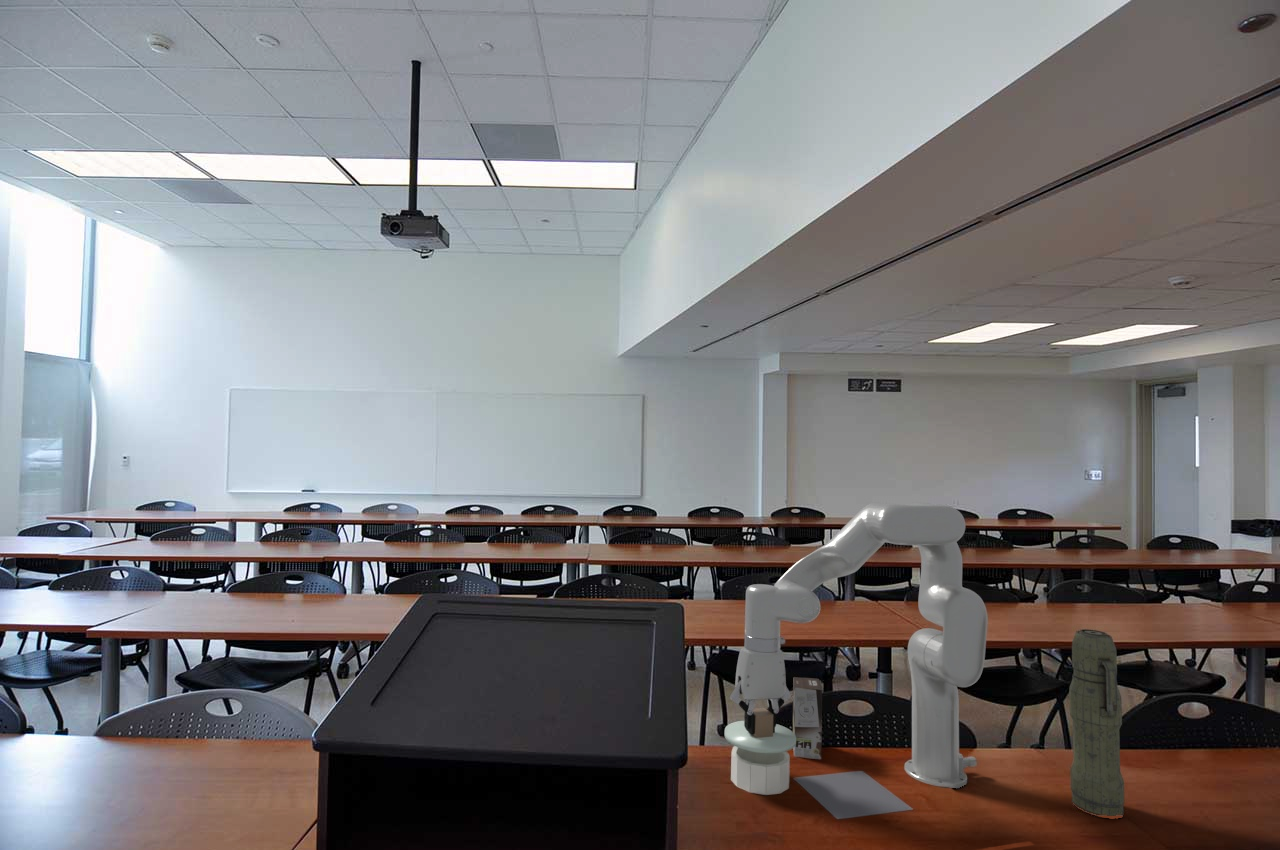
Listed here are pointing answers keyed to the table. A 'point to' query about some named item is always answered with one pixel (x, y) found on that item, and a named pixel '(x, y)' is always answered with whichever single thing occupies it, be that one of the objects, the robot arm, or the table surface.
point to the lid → (761, 735)
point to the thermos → (1096, 725)
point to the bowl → (760, 771)
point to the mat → (851, 794)
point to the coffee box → (807, 717)
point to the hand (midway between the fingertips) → (760, 730)
